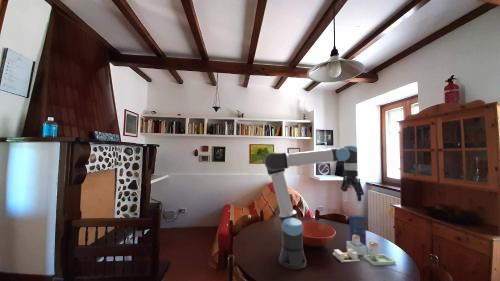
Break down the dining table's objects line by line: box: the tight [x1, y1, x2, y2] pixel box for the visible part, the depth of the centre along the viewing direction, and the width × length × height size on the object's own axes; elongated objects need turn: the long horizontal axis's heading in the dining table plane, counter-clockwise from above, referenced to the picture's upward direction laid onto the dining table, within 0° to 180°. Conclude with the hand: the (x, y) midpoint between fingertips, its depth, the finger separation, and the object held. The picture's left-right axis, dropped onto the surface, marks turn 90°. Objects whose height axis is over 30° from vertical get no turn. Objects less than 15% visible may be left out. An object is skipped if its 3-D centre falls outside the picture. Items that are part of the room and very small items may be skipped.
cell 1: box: [352, 234, 360, 246], centre depth 131 cm, size 4×4×11 cm
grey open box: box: [346, 240, 368, 256], centre depth 131 cm, size 8×8×6 cm
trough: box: [362, 253, 397, 266], centre depth 120 cm, size 14×9×2 cm, turn 97°
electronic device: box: [348, 214, 367, 246], centre depth 142 cm, size 10×5×20 cm, turn 89°
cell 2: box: [368, 241, 379, 262], centre depth 120 cm, size 4×4×11 cm
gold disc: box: [344, 254, 350, 260], centre depth 123 cm, size 4×4×2 cm
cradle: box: [332, 248, 361, 263], centre depth 124 cm, size 12×10×5 cm
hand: (351, 203), depth 128 cm, fingers open, 13 cm apart
